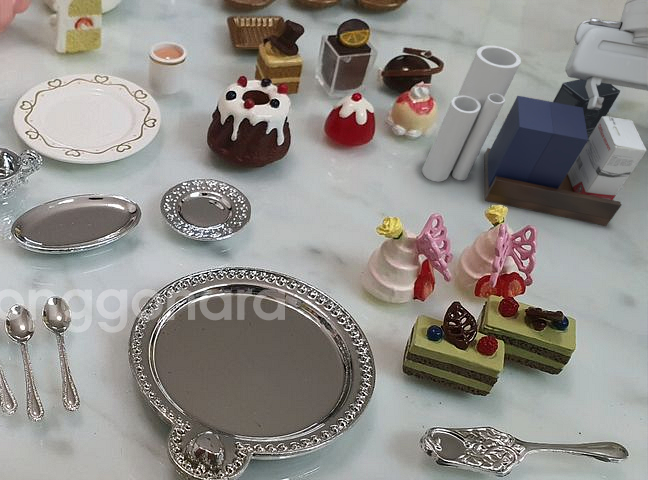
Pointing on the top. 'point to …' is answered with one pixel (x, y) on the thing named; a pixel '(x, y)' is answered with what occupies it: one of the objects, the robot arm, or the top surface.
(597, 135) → the ink box
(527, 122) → the matching cartons
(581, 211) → the shelf
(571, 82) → the box
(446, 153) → the vase
